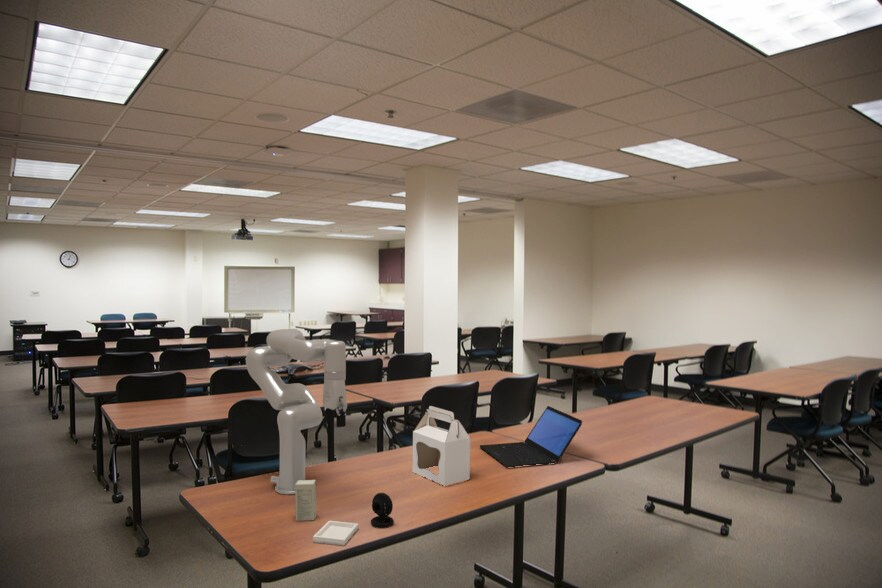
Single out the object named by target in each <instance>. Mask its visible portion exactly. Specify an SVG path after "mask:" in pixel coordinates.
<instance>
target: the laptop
mask: <svg viewBox="0 0 882 588" xmlns="http://www.w3.org/2000/svg"><path fill="white" fill-rule="evenodd" d="M582 425H583V420H582V419H579V418H577V417H575V416H573V415H570V414H568V413H565V412H564V411H562V410H559V409H556V408H554V407H552V406H549V405H547V406H546V408H545V410H544V411H543V412H542V414H541V415H540V417H539V419H538V420H537V422H536V423H535V424H534V426H533V427H532V429H531V431H529V434H528V435H527V437H526V438H525V440H524V441H519V442H507V443H490V444H481V445H479V448H480V449H481V450H483V451H484V450H485V451H484V452H485V453H487V454H488V453H489V456H491V457H492V456H493V459H495V458H496V459H497V460H496V459H495V460H496V461H498V460H499V461H498V463H500V462H501V463H502V464H501V463H500V464H501V465H503V466H504V465H505V466H506V467H505V466H504V467H505V468H507V467H515V466H523V465H536V464H549V463H555V462H556V463H558V462H559V461H560V460H561V458H562V456H563V454H564V453H565V452H566V450H567V449H568V447H569V446H570V445H571V442H572V441H573V439H574V438H575V436H576V434H577V433H578V432H579V430H580V428H581V427H582ZM556 463H555V464H556Z"/></svg>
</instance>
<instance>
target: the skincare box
mask: <svg viewBox="0 0 882 588" xmlns="http://www.w3.org/2000/svg"><path fill="white" fill-rule="evenodd" d="M294 495H295V498H294V500H295V501H294V502H295V506H294V507H295V521H297V522H298V521H299V522H300V521H315V519H316V517H317V481H316V479H305V480H298V481H297V482H296V484H295V494H294Z"/></svg>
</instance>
